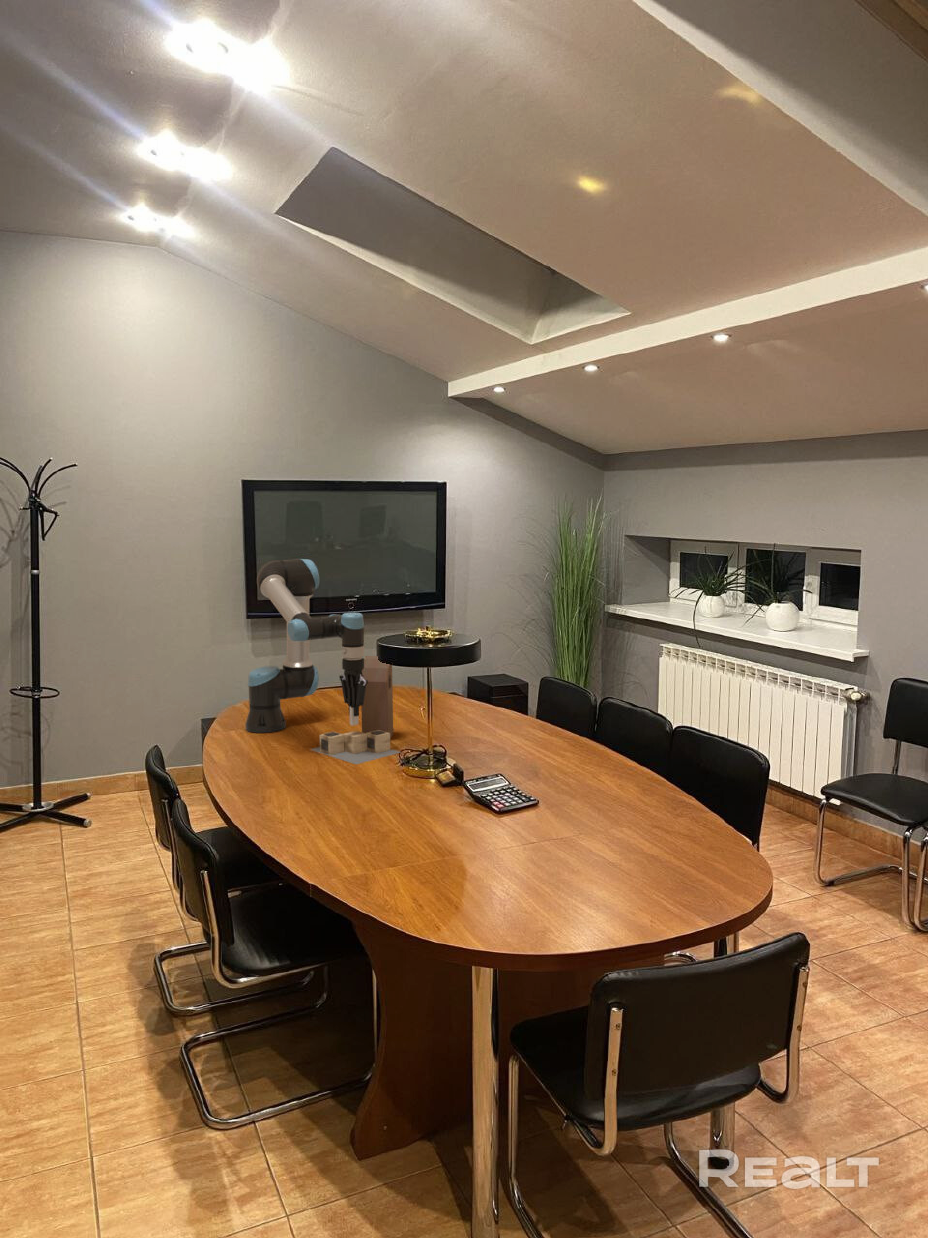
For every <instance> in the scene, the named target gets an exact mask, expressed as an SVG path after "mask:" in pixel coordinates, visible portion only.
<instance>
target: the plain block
mask: <svg viewBox="0 0 928 1238" xmlns="http://www.w3.org/2000/svg"><path fill="white" fill-rule="evenodd" d="M342 734H343V735H344V751H345V752H349V753H352V754H356V753H360V752H364V751H367V734H366V733H362V731H358V730H355V731H354V730H353V731H350V732H346V733H342Z"/></svg>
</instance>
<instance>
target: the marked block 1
mask: <svg viewBox="0 0 928 1238" xmlns="http://www.w3.org/2000/svg"><path fill="white" fill-rule="evenodd" d="M343 734H344V733H339V732H336V731H330V732H326V733H321V734H319V747H320V752H323V753H326V754H329V755H333V754H336V753H340V752H344V735H343Z"/></svg>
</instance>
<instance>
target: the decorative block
mask: <svg viewBox="0 0 928 1238" xmlns="http://www.w3.org/2000/svg"><path fill="white" fill-rule="evenodd" d="M378 656H379V655H378ZM378 656H377V655H367V656H366V655H365V656H364V658H363V659H364V669H363V670H362V674H363V678H364V680H368V683H367V685H366V690H365V697H364V703H363V705H362V706H360V707H361V711H360V712H361V732H362V733H369V732H373V731H377V730H380V731H384V732H388V733H390V739H392V737H393V736H394V701H393V697H394V696H393V691H394V690H393V664H392V665H390V664H386V663H382V662H380V661H379V660H378Z"/></svg>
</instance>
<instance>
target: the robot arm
mask: <svg viewBox="0 0 928 1238" xmlns="http://www.w3.org/2000/svg"><path fill="white" fill-rule="evenodd" d="M256 584H257V588H258V591H259V592H260V593H261V595H263V596H264V597H265V598H266V599H267V598H268V600H270V601H271V603H272V604H273V606H274V607H275V608H276V610H277V612H279V614H280V615H281V616H282V618H283V620H285V621H286V659H285V660H284V661H283V662H282V668H281V669H280V667H279V666H277V665H269V666H267V665H266V666H261V667H257V668H255V669H253V670H251V671H250V672H249V673H248V682H247V685H248V699H249V700H248V703H249V711H248V712H247V717H246V722H245V730H246V731H247V732H249V733H257V734H259V733H260V734H266V733H274V732H279V731H283V730H284V729H286V727H287V725H286V719H285V717H284V713H283V710H282V708H281V700H289V699H295V698H305V697H307V696H312V695H313V694H314V693H315V692H316V691H317V689H318V685H319V680H320V677H319V671H318V669H317V667H316V666H314V662H313V661H312V660H311V659H310V641H313V640H322V639H325V640H326V639H333V638H340V639H341V656H342V658H343V659H342V660H341V662H342V663H341V666H342V667H341V668H342V670H344V671H343V674H342V675H339V678H338V679H339V680H340V682H341V689H342V695H343V701H344V704H347V706H348V715H349V725H350V726H352V727H353V726H358V725H359V724H360V723H359V715H360V707H361V706H362V705H363V703H364V697H365V690H366V685H367V683H368V680H364V678H363V674H362V670H363V669H364V659H365V643H364V641H365V629H364V628H365V623H364V615H363V614H362V613H360V612H345V613H343V614H342V615H341V614H330V615H328V616H319V617H311V615H310V599H311V598H312V597H313V596H314V590H316V589H318V588H319V585H320V574H319V570H318V567H317V565H316V564H315V562H314V561H313V560H312V559H306V558H305V559H303V558H297V559H296V558H295V559H294V558H293V559H283V560H279V559H277V560H272V561H269V562H267V563H265V564H263V566H262V567H261V568H260V570H259V571H258V574H257V577H256Z"/></svg>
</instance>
